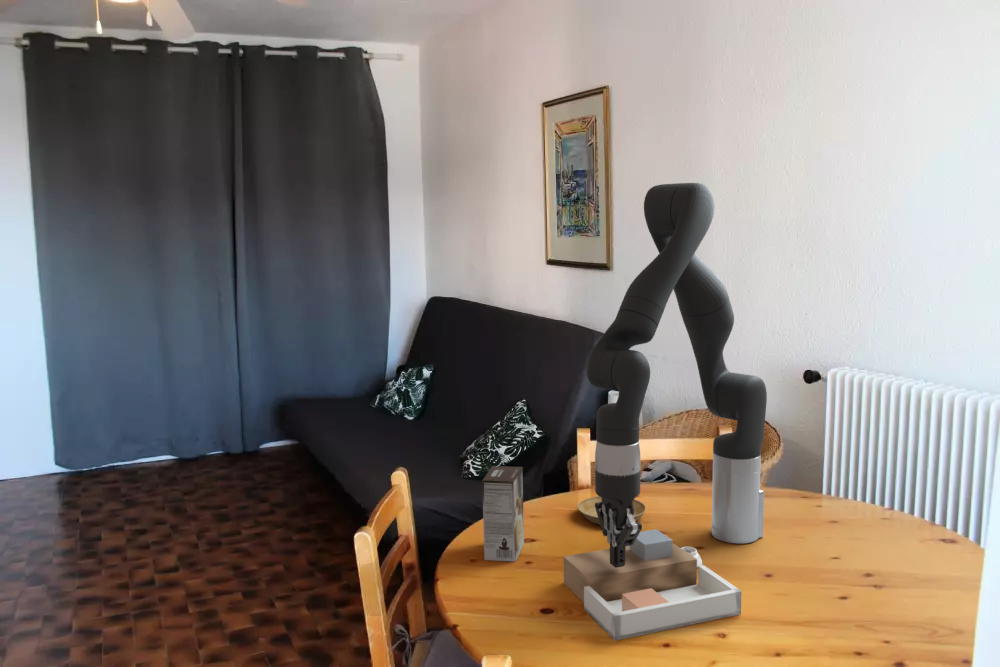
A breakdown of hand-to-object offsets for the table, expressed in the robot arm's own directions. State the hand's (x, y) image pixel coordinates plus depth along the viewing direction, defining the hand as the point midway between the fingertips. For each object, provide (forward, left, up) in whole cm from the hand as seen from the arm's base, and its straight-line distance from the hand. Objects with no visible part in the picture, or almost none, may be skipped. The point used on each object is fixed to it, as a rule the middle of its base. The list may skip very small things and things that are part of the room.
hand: (617, 565), depth 143 cm
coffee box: (+11, -26, -6) cm, 29 cm away
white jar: (-19, -8, -6) cm, 21 cm away
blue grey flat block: (-9, -5, -1) cm, 10 cm away
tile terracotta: (-1, +8, -2) cm, 8 cm away
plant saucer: (-17, -35, -6) cm, 39 cm away
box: (-5, +7, -6) cm, 10 cm away
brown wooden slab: (-5, -4, -6) cm, 8 cm away
